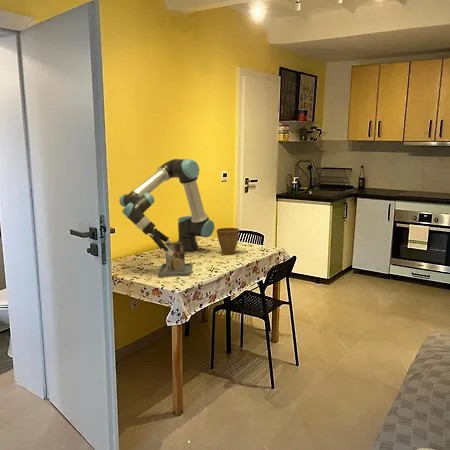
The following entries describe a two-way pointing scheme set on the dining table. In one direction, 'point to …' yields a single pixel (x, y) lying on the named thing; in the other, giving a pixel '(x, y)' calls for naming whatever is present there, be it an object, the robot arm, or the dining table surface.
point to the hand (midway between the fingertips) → (173, 251)
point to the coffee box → (175, 257)
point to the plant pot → (228, 239)
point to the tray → (186, 272)
